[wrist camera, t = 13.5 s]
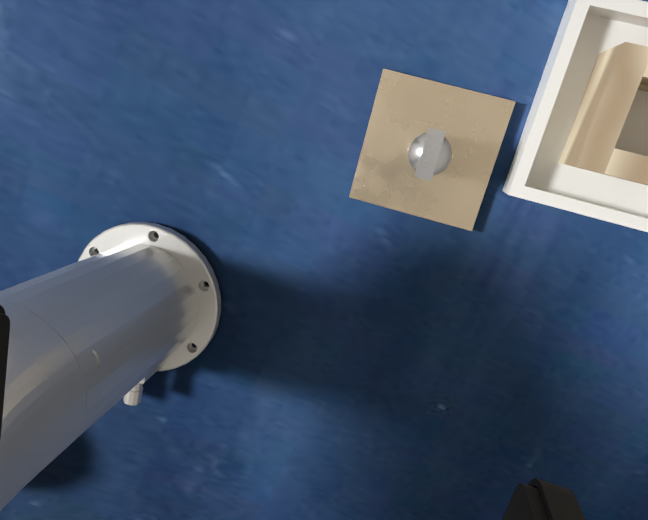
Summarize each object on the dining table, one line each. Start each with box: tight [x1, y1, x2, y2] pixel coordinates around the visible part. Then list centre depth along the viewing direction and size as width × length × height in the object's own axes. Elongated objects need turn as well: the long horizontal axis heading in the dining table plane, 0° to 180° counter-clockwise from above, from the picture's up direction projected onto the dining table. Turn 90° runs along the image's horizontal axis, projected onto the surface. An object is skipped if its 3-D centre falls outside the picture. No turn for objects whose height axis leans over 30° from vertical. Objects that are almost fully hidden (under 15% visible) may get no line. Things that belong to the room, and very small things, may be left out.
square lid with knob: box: [349, 69, 515, 231], centre depth 34 cm, size 9×9×6 cm
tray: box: [502, 0, 648, 232], centre depth 33 cm, size 13×13×2 cm
